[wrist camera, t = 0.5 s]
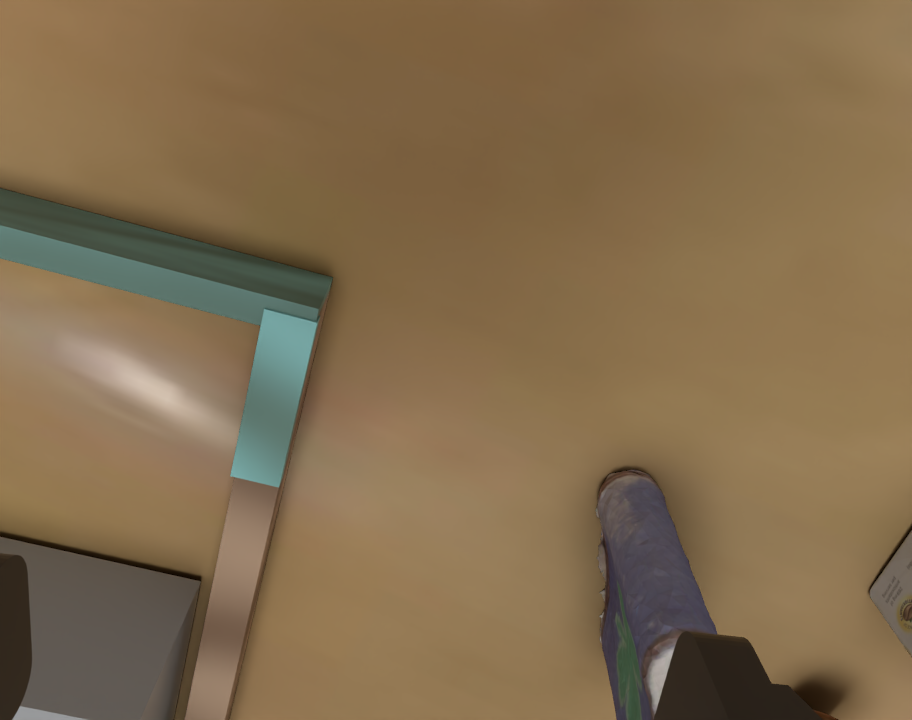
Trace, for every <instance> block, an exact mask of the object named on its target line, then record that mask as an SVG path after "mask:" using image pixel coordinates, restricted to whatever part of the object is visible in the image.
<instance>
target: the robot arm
mask: <svg viewBox="0 0 912 720" xmlns="http://www.w3.org/2000/svg"><path fill="white" fill-rule="evenodd" d="M31 668H32V642H31V624H30V605H29V586H28V571H27V565H26V562H25V560H24V559H23V557H22V556H20V555H13V554H4V553H0V720H12V719H13V718H14V716H15V714H16V713H17V711H18V709H19V707H20V705H21V703H22V700H23V698H24V695H25V693H26V690H27V686H28V683H29V679H30V674H31ZM654 720H823V719H822V718H821V717H820V716H819V715H818V714H817V713H816V712H815V711H814V710H813V709H812V708H811V707H810V706H809V705H808V704H807V703H806V702H805V701H804V700H803V699H802V698H801V697H800V696H798V695H797V694H796V693H795V692H794V691H793V690H792V689H791V688H790V687H789V686H788V685H779V684H771V682H770V680H769V678H768V676H767V674H766V672H765V670H764V668H763V666H762V664H761V662H760V660H759V658H758V656H757V654H756V652H755V650H754V648H753V647H752V645H751V643H750V642H749V641H748V640H747V639H745V638H743V637H735V636H726V635H717V634H708V633H699V632H690V631H685V632H683V633H681V635H680V636H679V637H678V640H677V642H676V645H675V648H674V651H673V655H672V658H671V661H670V665H669V668H668V672H667V675H666V679H665V682H664V685H663V689H662V692H661V696H660V699H659V703H658V706H657V710H656V713H655V716H654Z"/></svg>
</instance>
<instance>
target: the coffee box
mask: <svg viewBox="0 0 912 720" xmlns="http://www.w3.org/2000/svg"><path fill="white" fill-rule="evenodd" d="M870 598H871V599H872V601H873V602H874V604H875V605H876V607H877V608H878V609H879V611H880V612H881V614H882V615H883V617H884V618H885V620H886V621H887V622H888V624H889V625H890V627H891V628H892V630H893V631H894V633H895V634H896V635H897V637H898V638H899V640H900V641H901V643H902V644H903V646H904V648H905V649H906V650H907V652H908V653H909V654H910V656H911V657H912V530H911V532H910V533H909V535H908V536H907V538H906V539H905V541H904V542H903V543H902V545H901V546H900V548H899V549H898V551H897V552H896V553H895V555H894V556H893V558H892V559H891V560H890V562H889V563H888V565H887V566H886V568H885V569H884V570H883V572H882V573H881V575H880V576H879V577H878V579H877V580H876V582H875V583H874V585H873V586H872V588H871V590H870Z"/></svg>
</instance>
